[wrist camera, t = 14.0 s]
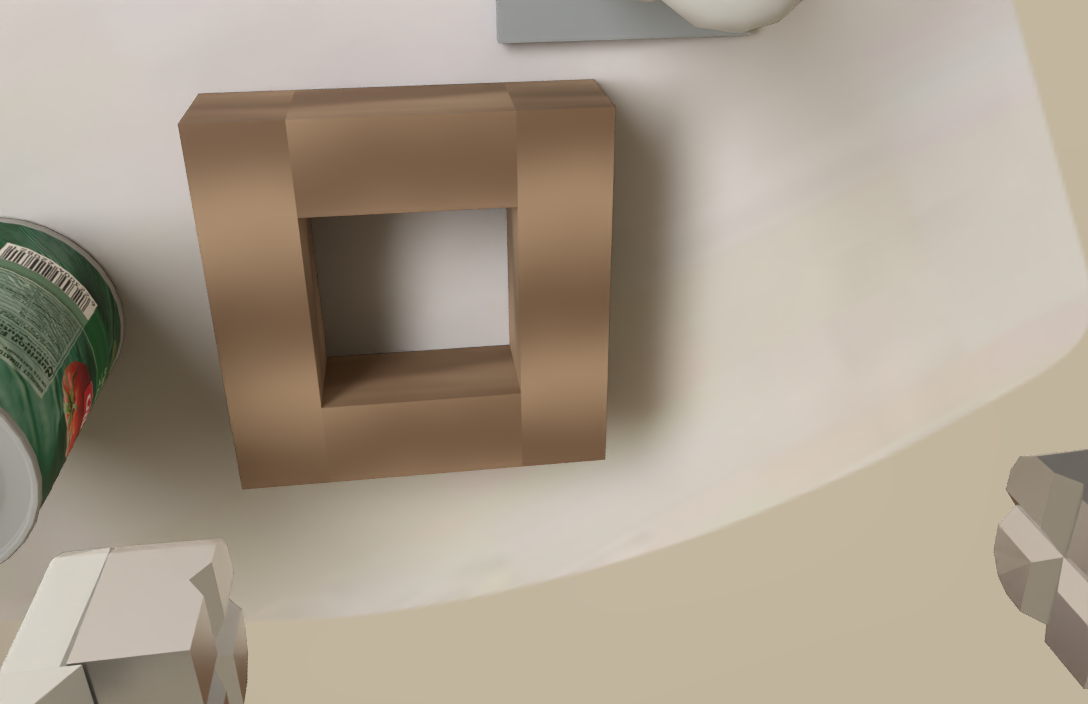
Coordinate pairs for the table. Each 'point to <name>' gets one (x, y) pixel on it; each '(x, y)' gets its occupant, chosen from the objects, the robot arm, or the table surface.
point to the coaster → (592, 21)
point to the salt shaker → (731, 13)
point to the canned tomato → (47, 363)
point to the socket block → (398, 187)
